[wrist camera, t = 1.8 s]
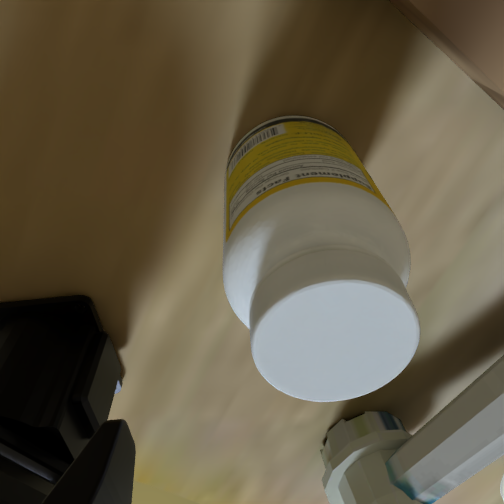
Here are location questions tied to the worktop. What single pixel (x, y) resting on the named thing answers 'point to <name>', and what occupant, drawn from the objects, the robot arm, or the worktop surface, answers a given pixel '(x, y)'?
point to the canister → (502, 487)
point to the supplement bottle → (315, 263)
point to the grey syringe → (416, 449)
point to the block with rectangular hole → (465, 36)
